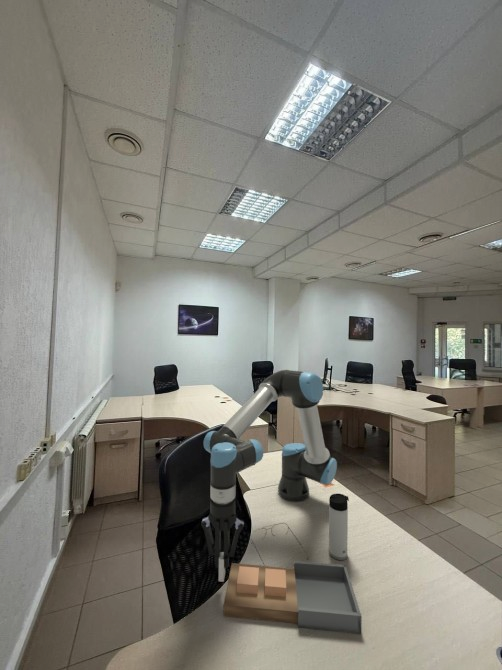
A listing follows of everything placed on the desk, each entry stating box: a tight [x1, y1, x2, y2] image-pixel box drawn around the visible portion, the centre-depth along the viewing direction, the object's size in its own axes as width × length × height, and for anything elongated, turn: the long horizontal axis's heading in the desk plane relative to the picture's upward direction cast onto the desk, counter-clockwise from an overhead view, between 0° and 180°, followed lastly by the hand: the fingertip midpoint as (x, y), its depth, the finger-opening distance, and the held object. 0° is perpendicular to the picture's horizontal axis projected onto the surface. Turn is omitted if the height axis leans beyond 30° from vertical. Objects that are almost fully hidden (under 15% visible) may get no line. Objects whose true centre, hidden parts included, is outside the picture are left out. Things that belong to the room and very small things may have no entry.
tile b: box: [265, 568, 286, 597], centre depth 80 cm, size 6×6×2 cm
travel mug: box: [328, 493, 350, 561], centre depth 97 cm, size 6×7×20 cm
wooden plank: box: [223, 562, 298, 624], centre depth 81 cm, size 14×20×3 cm
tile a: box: [237, 566, 259, 594], centre depth 81 cm, size 6×6×2 cm
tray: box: [293, 560, 362, 635], centre depth 79 cm, size 16×16×4 cm
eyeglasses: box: [250, 522, 309, 566], centre depth 98 cm, size 16×15×5 cm
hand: (221, 577), depth 82 cm, fingers closed
